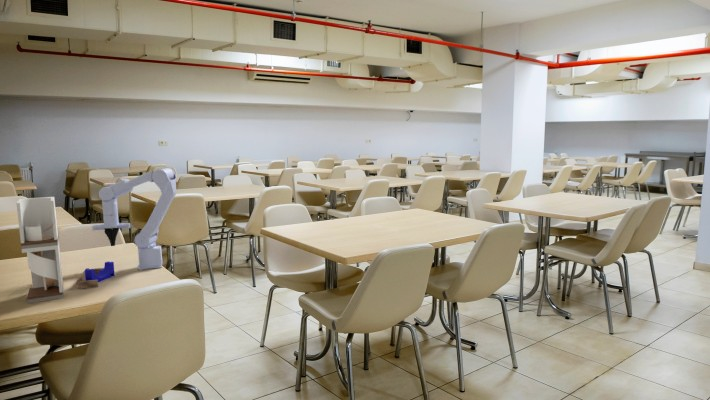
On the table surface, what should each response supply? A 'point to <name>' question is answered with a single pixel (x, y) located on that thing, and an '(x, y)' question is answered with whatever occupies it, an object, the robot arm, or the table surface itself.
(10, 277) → the table surface
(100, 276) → the cable clip
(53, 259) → the display case
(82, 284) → the frame
